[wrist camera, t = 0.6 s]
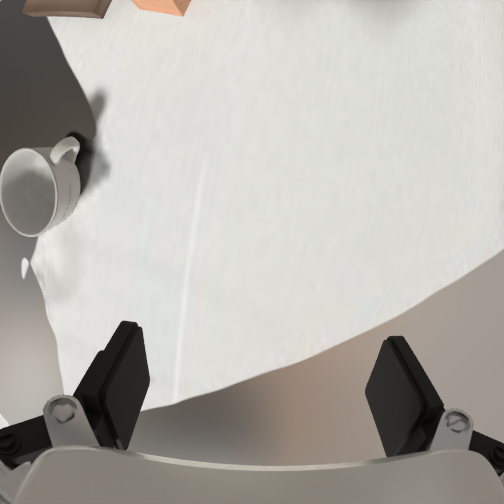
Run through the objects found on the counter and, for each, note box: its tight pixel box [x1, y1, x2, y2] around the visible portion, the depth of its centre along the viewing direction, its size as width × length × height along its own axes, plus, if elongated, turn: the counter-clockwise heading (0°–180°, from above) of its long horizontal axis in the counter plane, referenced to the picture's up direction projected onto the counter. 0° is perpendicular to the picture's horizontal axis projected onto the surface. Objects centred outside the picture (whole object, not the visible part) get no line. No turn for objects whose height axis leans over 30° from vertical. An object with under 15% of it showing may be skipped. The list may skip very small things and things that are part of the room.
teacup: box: [0, 137, 80, 237], centre depth 33 cm, size 14×11×8 cm
